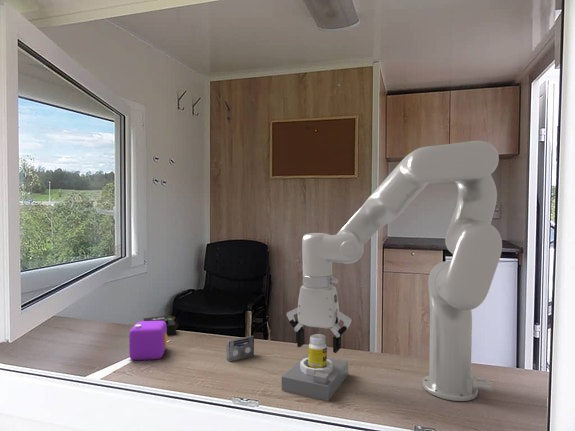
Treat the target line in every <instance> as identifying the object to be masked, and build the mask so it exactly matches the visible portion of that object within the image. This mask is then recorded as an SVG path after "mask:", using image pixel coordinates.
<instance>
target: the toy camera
mask: <svg viewBox="0 0 575 431" xmlns="http://www.w3.org/2000/svg"><path fill="white" fill-rule="evenodd" d="M128 337H129V339H128V340H129V341H128V342H129V343H128V345H129V350H128V351H129V358H130V360H132V361H147V360H150V361H151V360H152V361H153V360H160V359H161V358H162V357H163V356H164V353H165V351H166V350H167V347H168V346H167V344H168V340H169V339H168V338H169V336H167V325H166V322H165V321H144V320H142V321H138V322H136V323H135V324H134V325H133V327H131V328H130V331H129V336H128Z"/></svg>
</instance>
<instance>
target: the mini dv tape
mask: <svg viewBox="0 0 575 431" xmlns="http://www.w3.org/2000/svg"><path fill="white" fill-rule="evenodd" d="M250 357H255V336H254V335H248V336H244V337H239V338H235V339H229V340H226V361H227V362H234V361H238V360H241V359H246V358H250Z"/></svg>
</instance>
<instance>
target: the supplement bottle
mask: <svg viewBox="0 0 575 431" xmlns="http://www.w3.org/2000/svg"><path fill="white" fill-rule="evenodd" d="M326 340H327V338H326V336H325V335H324V334H321V333H315V334H314V333H313V334H311V335H310V337H309V343H308V367H310V368H325V367H327V358H328V355H327V354H328V345H327V344H326V342H327V341H326Z"/></svg>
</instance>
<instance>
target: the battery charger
mask: <svg viewBox="0 0 575 431" xmlns="http://www.w3.org/2000/svg"><path fill="white" fill-rule="evenodd" d="M143 321H165V322H166V325H167V336H168V337H169V336H175V335H177V326H176V323H175V321H174V320H173V318H172V316H171V315H162V316H161V315H160V316H153V317H145V318H144V317H143Z"/></svg>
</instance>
